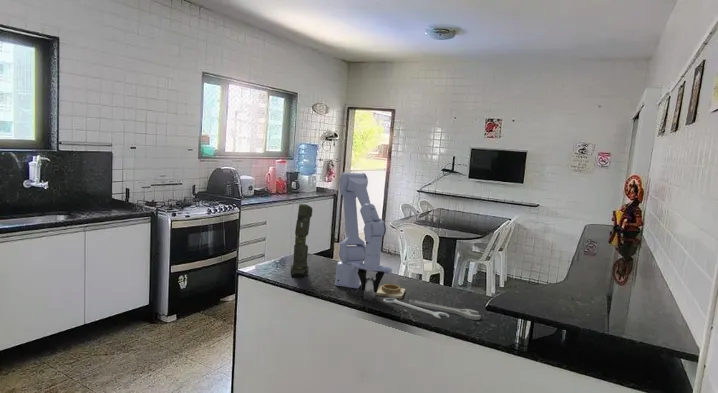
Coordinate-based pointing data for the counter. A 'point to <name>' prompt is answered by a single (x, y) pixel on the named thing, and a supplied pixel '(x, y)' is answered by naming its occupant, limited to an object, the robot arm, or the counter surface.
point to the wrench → (416, 308)
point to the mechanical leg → (301, 242)
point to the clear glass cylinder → (369, 288)
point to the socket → (391, 291)
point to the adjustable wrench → (448, 309)
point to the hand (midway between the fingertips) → (369, 290)
